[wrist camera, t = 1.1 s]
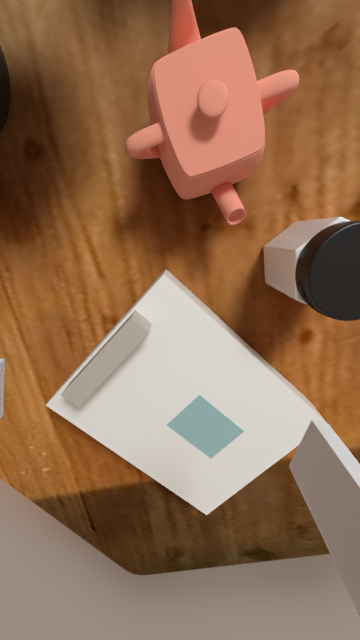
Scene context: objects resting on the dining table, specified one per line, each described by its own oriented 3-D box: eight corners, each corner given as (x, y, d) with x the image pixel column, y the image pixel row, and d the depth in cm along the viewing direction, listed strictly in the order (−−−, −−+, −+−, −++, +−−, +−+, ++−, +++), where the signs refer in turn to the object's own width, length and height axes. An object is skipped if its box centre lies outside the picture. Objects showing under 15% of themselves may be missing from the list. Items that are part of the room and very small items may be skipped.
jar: (248, 278, 33) (284, 300, 22) (278, 213, 31) (337, 200, 19) (310, 302, 34) (376, 336, 23) (343, 242, 32) (436, 245, 20)
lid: (48, 401, 33) (32, 421, 30) (164, 273, 28) (162, 278, 25) (206, 509, 39) (208, 537, 36) (323, 419, 34) (340, 440, 31)
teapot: (288, 131, 28) (345, 75, 18) (225, 230, 31) (245, 228, 21) (174, 41, 26) (170, -76, 16) (118, 159, 29) (87, 120, 19)
